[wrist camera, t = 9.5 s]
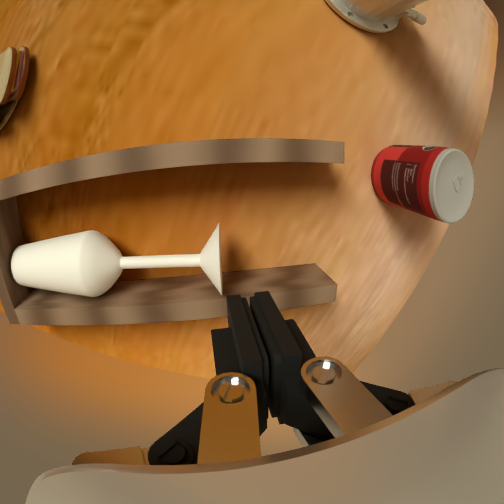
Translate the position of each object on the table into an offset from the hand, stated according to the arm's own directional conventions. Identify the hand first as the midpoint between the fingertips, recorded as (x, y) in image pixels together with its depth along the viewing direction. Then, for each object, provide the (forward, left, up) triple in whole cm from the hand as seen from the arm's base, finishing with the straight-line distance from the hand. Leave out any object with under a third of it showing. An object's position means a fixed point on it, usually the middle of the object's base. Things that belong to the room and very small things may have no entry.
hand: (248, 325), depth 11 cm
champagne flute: (0, +3, -15) cm, 15 cm away
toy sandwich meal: (+28, -21, -20) cm, 40 cm away
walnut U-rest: (+8, 0, -19) cm, 21 cm away
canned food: (-22, -5, -19) cm, 30 cm away
